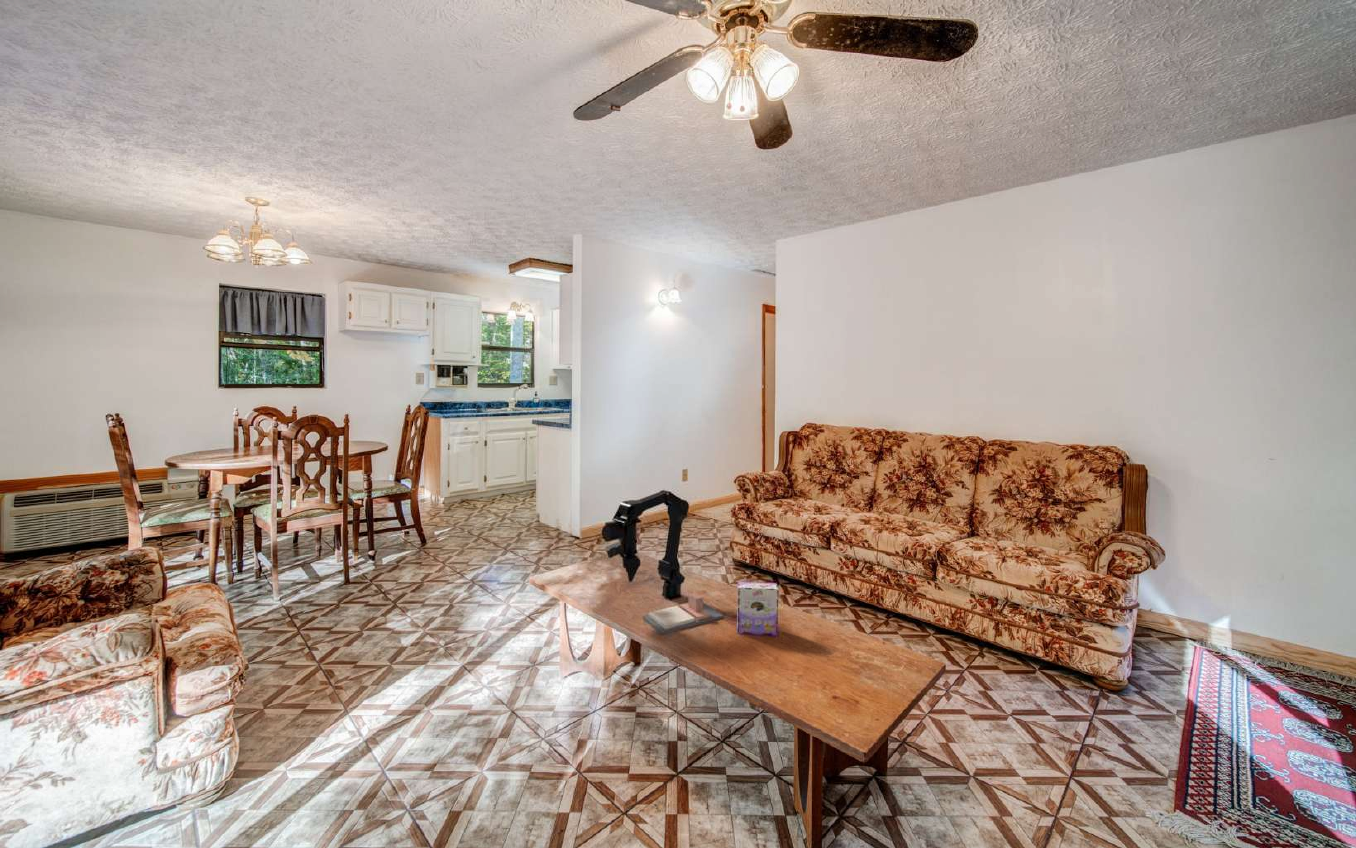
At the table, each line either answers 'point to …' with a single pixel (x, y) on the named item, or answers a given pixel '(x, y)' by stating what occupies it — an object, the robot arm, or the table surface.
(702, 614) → the stub
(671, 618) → the spiral notepad
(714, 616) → the mat
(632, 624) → the table surface
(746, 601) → the candy box
